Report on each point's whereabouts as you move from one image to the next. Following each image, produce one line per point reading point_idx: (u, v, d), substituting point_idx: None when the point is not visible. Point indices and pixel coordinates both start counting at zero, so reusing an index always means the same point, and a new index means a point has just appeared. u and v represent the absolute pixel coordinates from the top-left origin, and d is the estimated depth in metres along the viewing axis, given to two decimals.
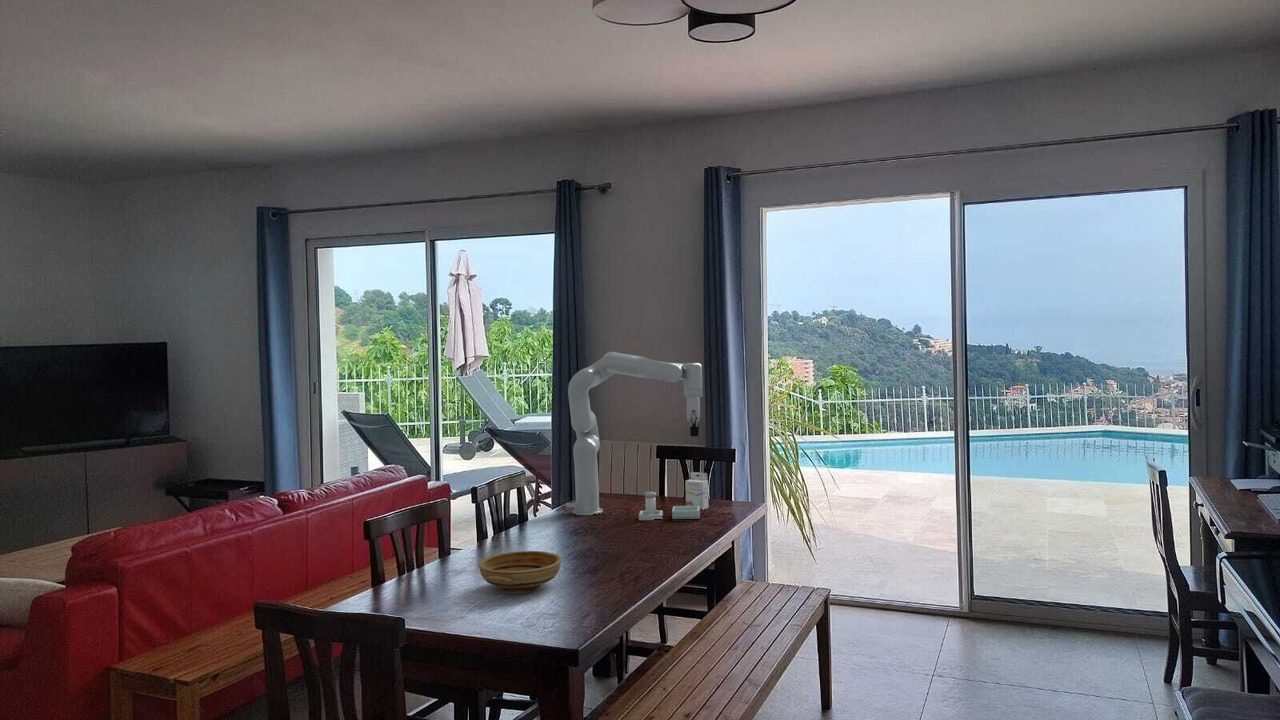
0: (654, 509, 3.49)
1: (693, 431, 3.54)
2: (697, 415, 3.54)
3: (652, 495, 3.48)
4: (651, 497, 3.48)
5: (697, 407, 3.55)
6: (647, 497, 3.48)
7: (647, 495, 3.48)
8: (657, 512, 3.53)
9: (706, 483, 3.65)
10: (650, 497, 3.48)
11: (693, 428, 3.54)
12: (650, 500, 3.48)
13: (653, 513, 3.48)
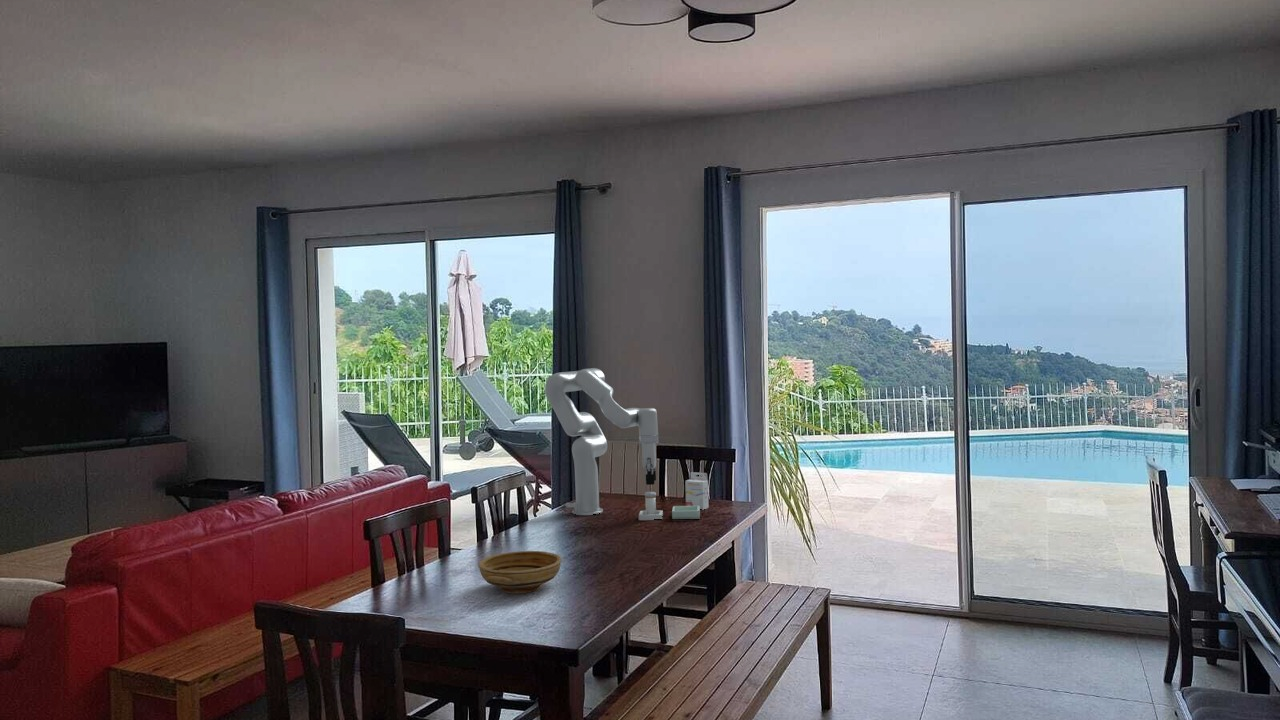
0: (654, 509, 3.49)
1: (649, 479, 3.44)
2: (653, 462, 3.44)
3: (652, 495, 3.48)
4: (651, 497, 3.48)
5: (652, 454, 3.44)
6: (647, 497, 3.48)
7: (647, 495, 3.48)
8: (657, 512, 3.53)
9: (706, 483, 3.65)
10: (650, 497, 3.48)
11: (649, 476, 3.44)
12: (650, 500, 3.48)
13: (653, 513, 3.48)
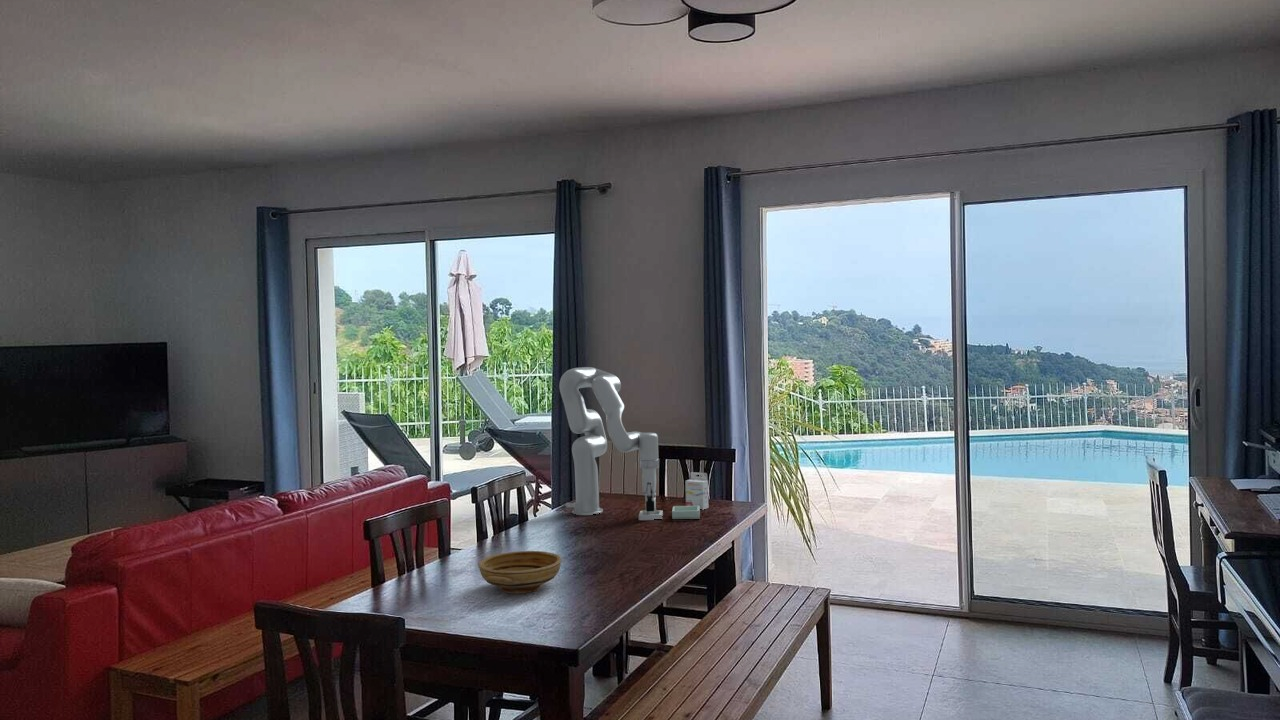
0: (654, 509, 3.49)
1: (649, 506, 3.47)
2: (652, 488, 3.45)
3: None
4: None
5: (652, 479, 3.45)
6: None
7: None
8: (657, 512, 3.53)
9: (706, 483, 3.65)
10: None
11: (649, 503, 3.47)
12: None
13: (653, 513, 3.48)
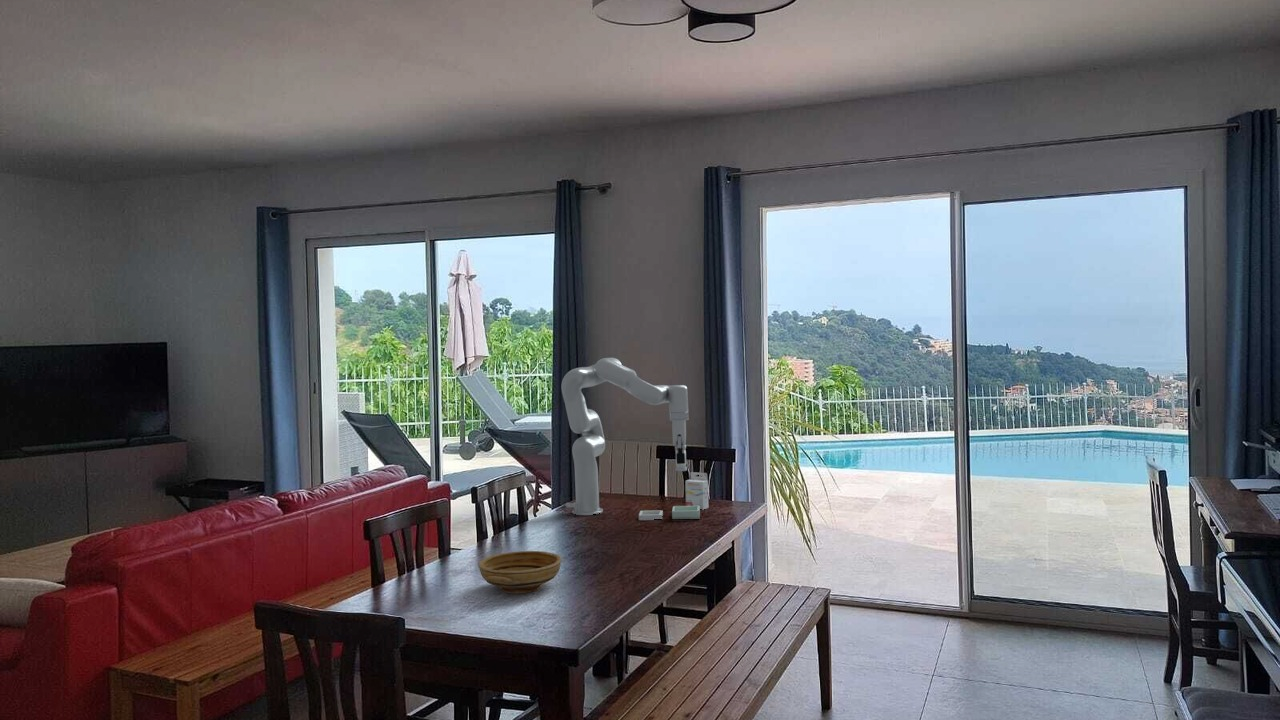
0: None
1: (679, 458, 3.45)
2: (683, 439, 3.43)
3: None
4: None
5: (683, 431, 3.43)
6: None
7: None
8: (657, 512, 3.53)
9: (706, 483, 3.65)
10: None
11: (679, 455, 3.45)
12: None
13: (684, 465, 3.47)
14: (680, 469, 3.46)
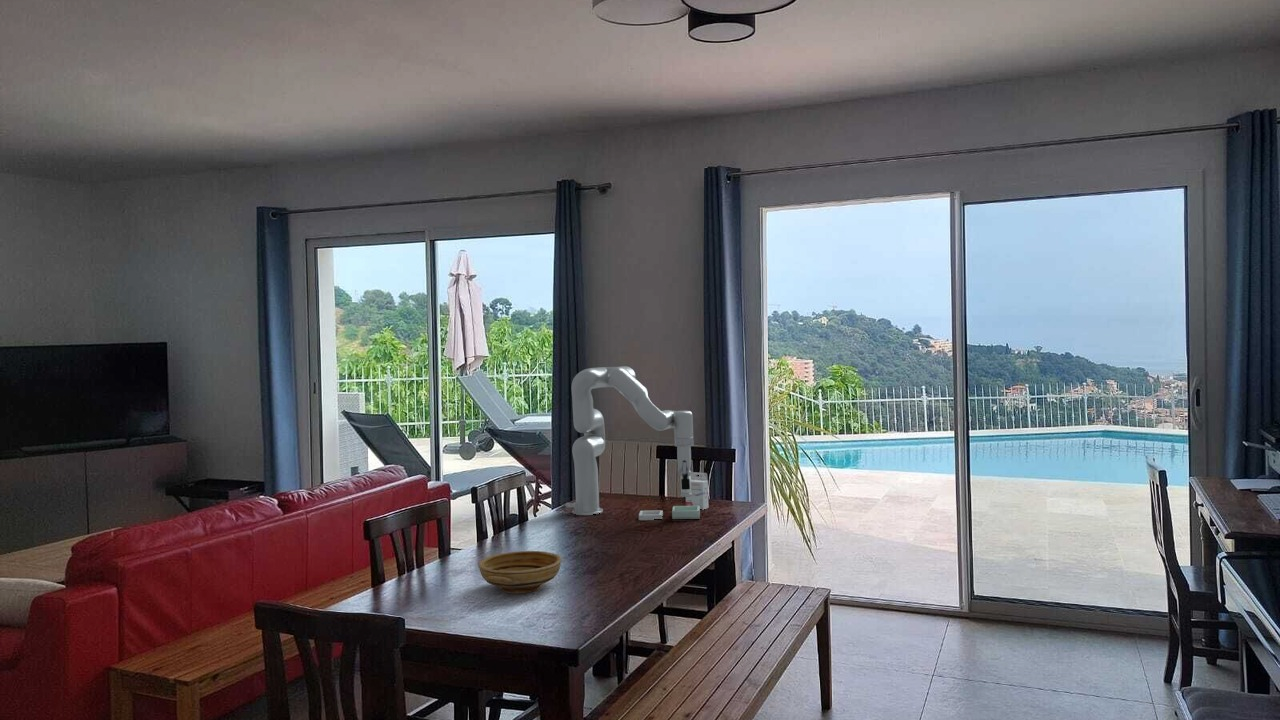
0: None
1: (684, 484, 3.45)
2: (688, 465, 3.43)
3: None
4: None
5: (688, 457, 3.43)
6: None
7: None
8: (657, 512, 3.53)
9: (706, 483, 3.65)
10: None
11: (684, 481, 3.45)
12: None
13: (688, 491, 3.47)
14: (685, 495, 3.46)
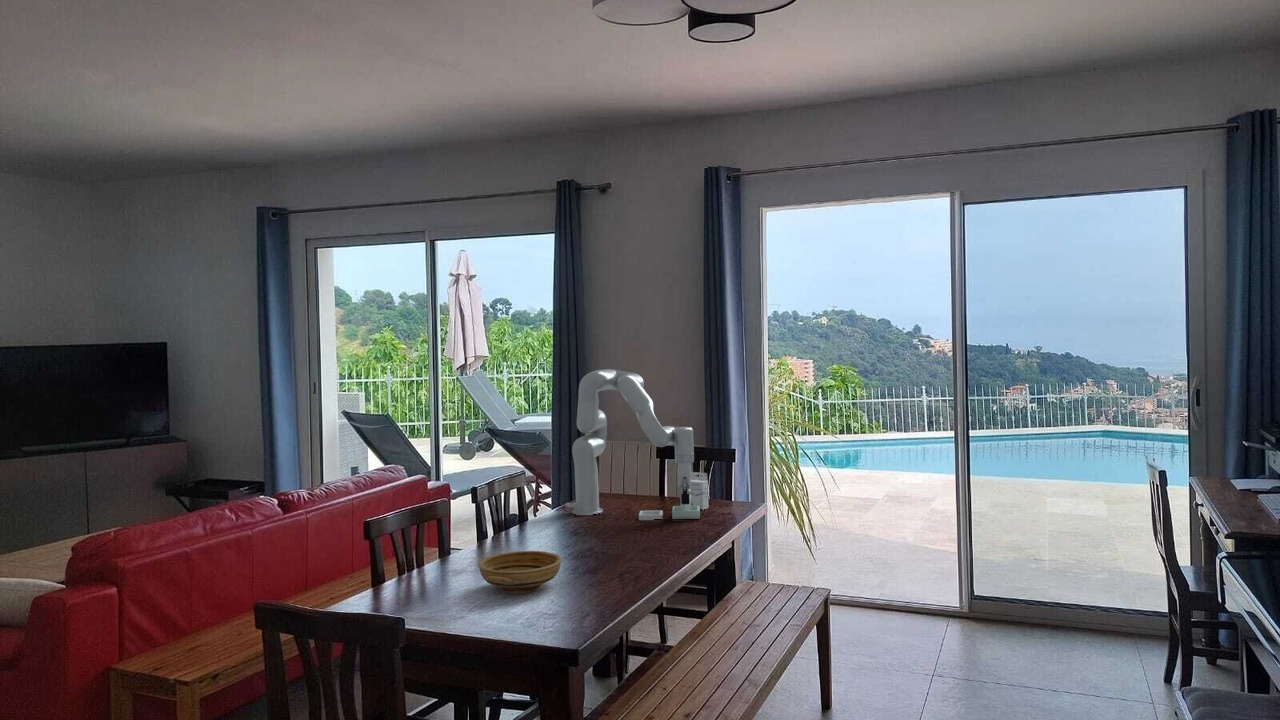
0: (689, 506, 3.47)
1: (684, 499, 3.43)
2: (688, 482, 3.43)
3: None
4: None
5: (688, 474, 3.44)
6: None
7: None
8: (657, 512, 3.53)
9: (706, 483, 3.65)
10: None
11: (684, 496, 3.43)
12: None
13: (688, 510, 3.47)
14: None
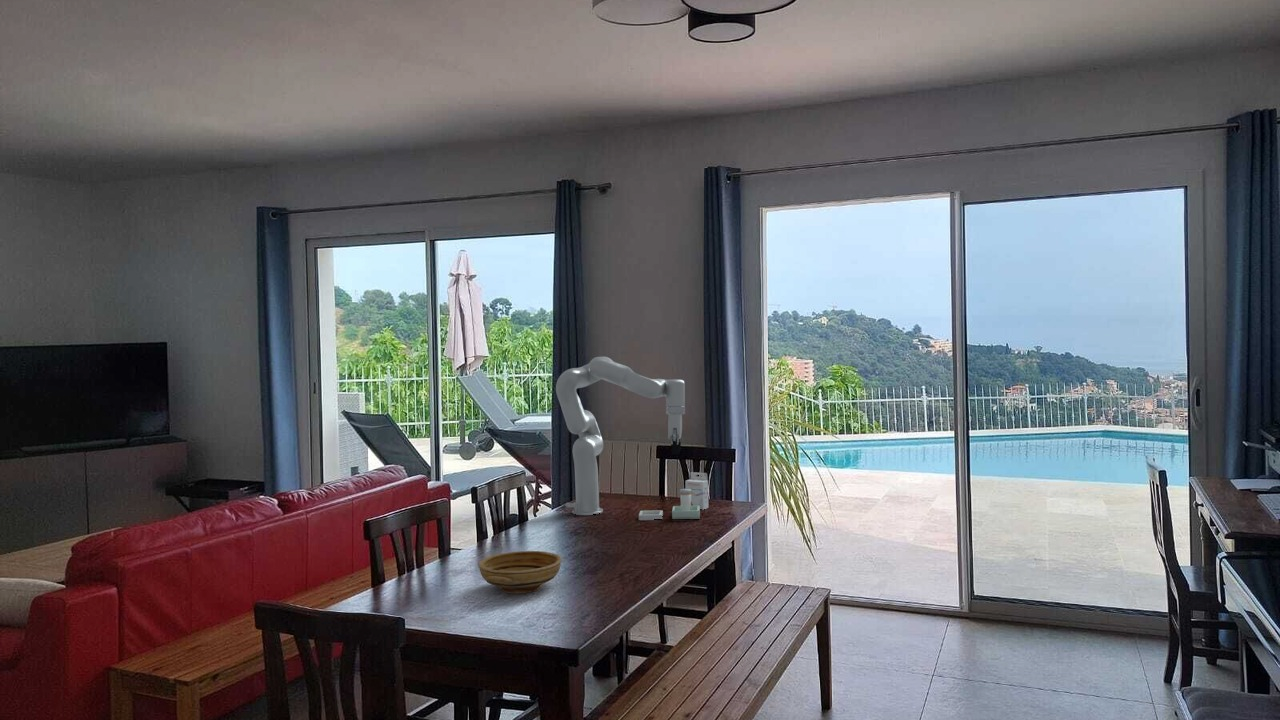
0: (689, 506, 3.47)
1: (674, 449, 3.48)
2: (678, 433, 3.48)
3: (687, 492, 3.47)
4: (686, 494, 3.47)
5: (678, 425, 3.48)
6: (682, 494, 3.47)
7: (683, 491, 3.47)
8: (657, 512, 3.53)
9: (706, 483, 3.65)
10: (685, 493, 3.47)
11: (674, 446, 3.47)
12: (685, 497, 3.47)
13: (688, 510, 3.47)
14: None
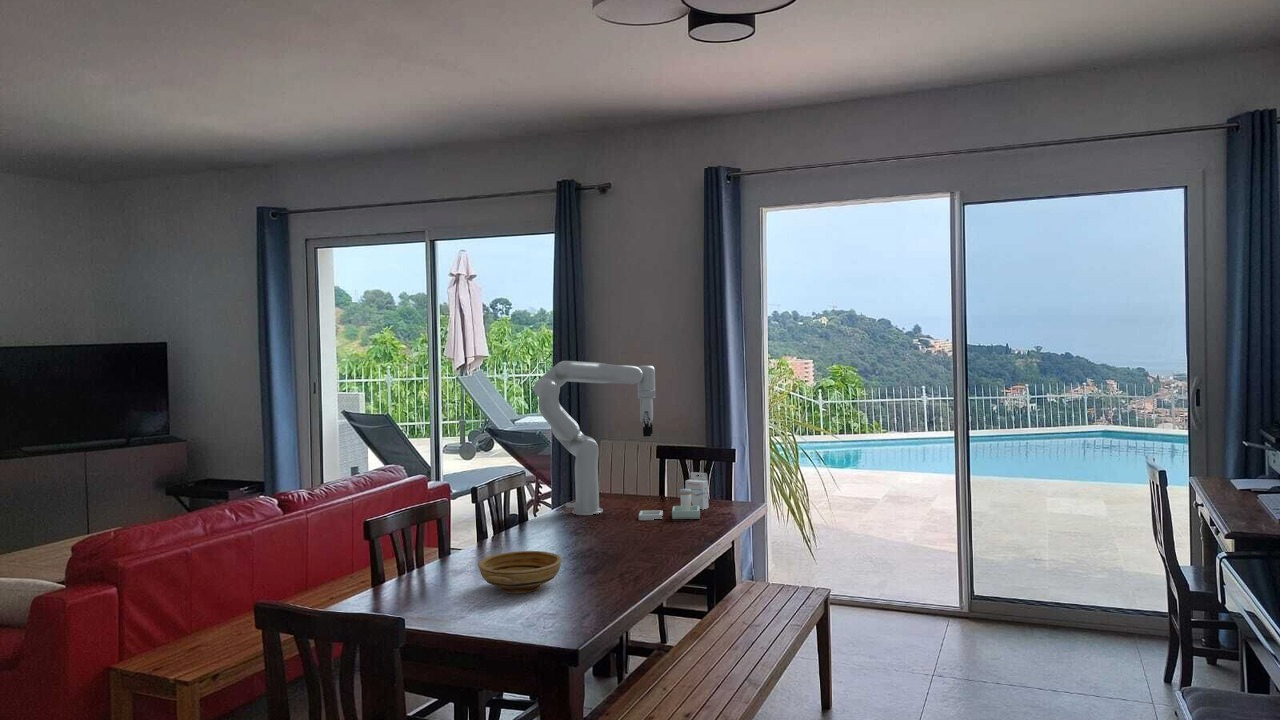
0: (689, 506, 3.47)
1: (646, 431, 3.67)
2: (650, 416, 3.68)
3: (687, 492, 3.47)
4: (686, 494, 3.47)
5: (650, 408, 3.68)
6: (682, 494, 3.47)
7: (683, 491, 3.47)
8: (657, 512, 3.53)
9: (706, 483, 3.65)
10: (685, 493, 3.47)
11: (646, 428, 3.67)
12: (685, 497, 3.47)
13: (688, 510, 3.47)
14: None
